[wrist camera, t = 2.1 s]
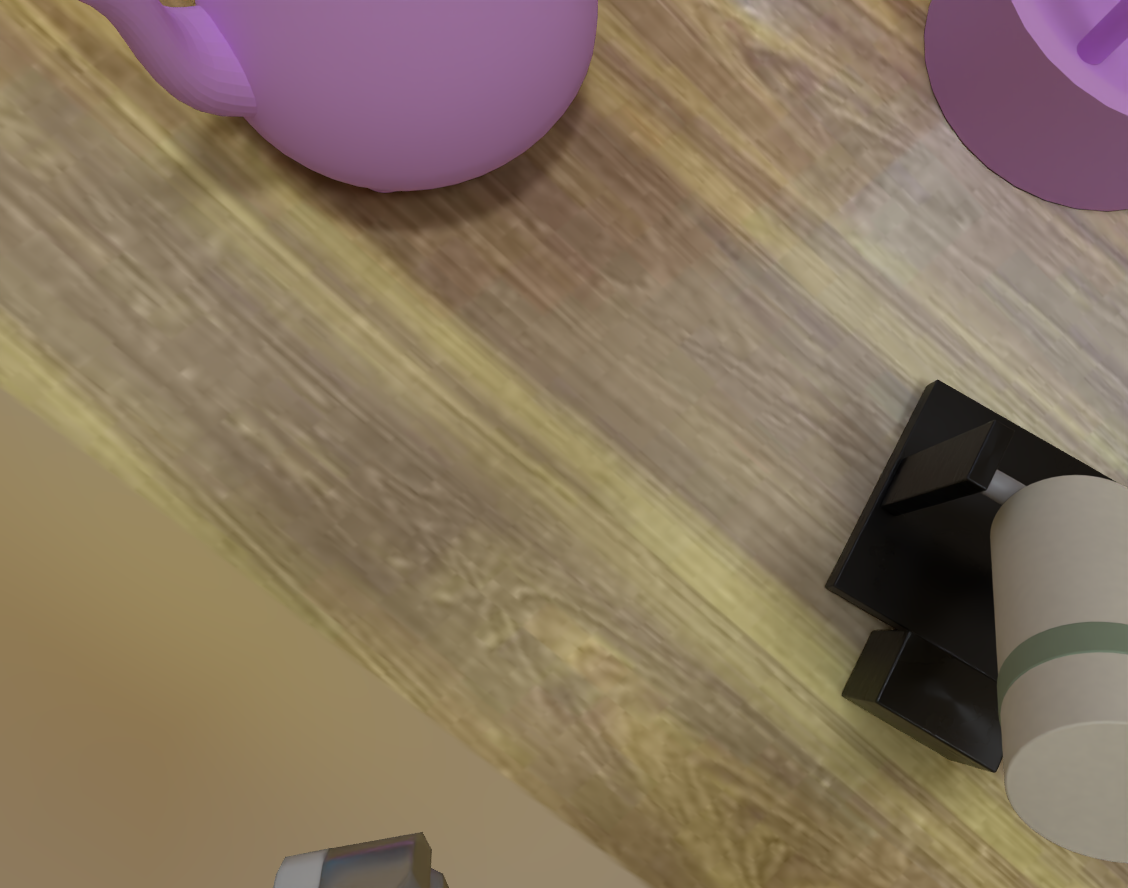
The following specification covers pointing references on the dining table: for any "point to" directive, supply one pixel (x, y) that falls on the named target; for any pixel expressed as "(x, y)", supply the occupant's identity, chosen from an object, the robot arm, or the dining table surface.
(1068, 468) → the stand
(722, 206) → the dining table surface
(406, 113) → the teapot
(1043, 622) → the beige green-banded cylinder
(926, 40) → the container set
